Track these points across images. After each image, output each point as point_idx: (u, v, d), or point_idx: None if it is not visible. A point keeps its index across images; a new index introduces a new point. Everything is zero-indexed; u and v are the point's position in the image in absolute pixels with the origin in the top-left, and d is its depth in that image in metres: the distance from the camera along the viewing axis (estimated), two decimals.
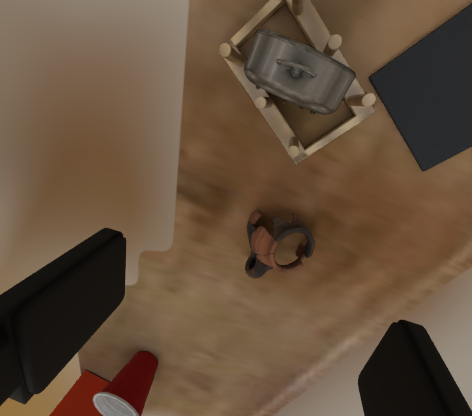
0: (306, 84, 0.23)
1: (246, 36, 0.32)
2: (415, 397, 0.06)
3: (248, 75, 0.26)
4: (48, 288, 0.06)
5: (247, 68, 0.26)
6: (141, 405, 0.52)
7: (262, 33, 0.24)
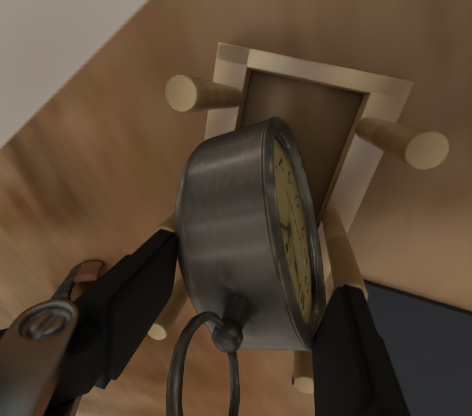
0: None
1: (274, 73, 0.16)
2: (343, 342, 0.07)
3: None
4: (130, 283, 0.07)
5: (189, 167, 0.10)
6: None
7: (261, 160, 0.09)
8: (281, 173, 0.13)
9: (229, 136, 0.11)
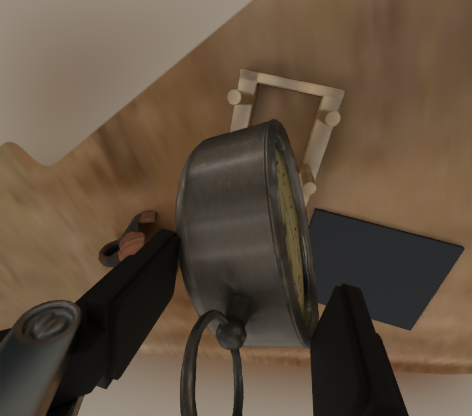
0: None
1: (271, 85, 0.28)
2: (341, 341, 0.07)
3: (180, 181, 0.11)
4: (132, 283, 0.07)
5: (190, 167, 0.10)
6: None
7: (264, 161, 0.09)
8: (277, 174, 0.14)
9: (229, 137, 0.11)
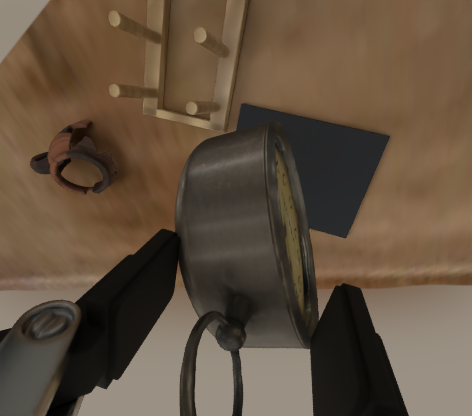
0: None
1: None
2: (341, 341, 0.07)
3: (180, 181, 0.11)
4: (132, 283, 0.07)
5: (190, 167, 0.10)
6: None
7: (264, 162, 0.09)
8: (277, 175, 0.14)
9: (229, 138, 0.11)
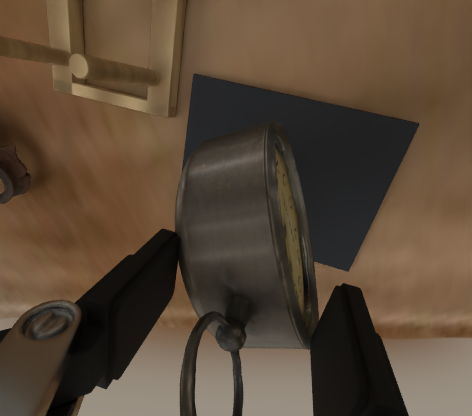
0: None
1: None
2: (341, 341, 0.07)
3: (180, 182, 0.11)
4: (132, 283, 0.07)
5: (190, 167, 0.10)
6: None
7: (264, 162, 0.09)
8: (277, 175, 0.14)
9: (229, 138, 0.11)
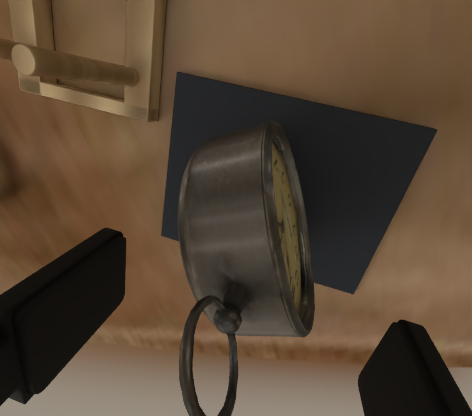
0: None
1: None
2: (415, 397, 0.06)
3: (183, 178, 0.11)
4: (48, 288, 0.06)
5: (192, 165, 0.11)
6: None
7: (261, 160, 0.10)
8: (276, 173, 0.14)
9: (230, 137, 0.12)
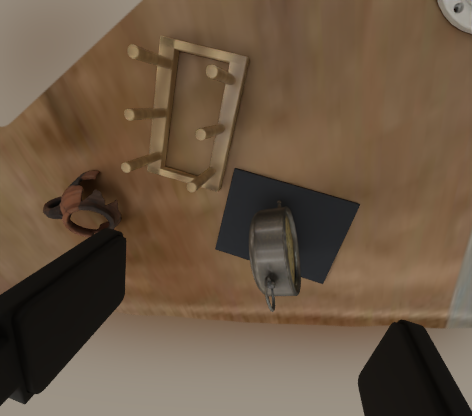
0: None
1: (187, 52, 0.32)
2: (415, 397, 0.06)
3: (251, 233, 0.30)
4: (48, 288, 0.06)
5: (255, 228, 0.29)
6: None
7: (282, 231, 0.28)
8: None
9: (268, 217, 0.30)
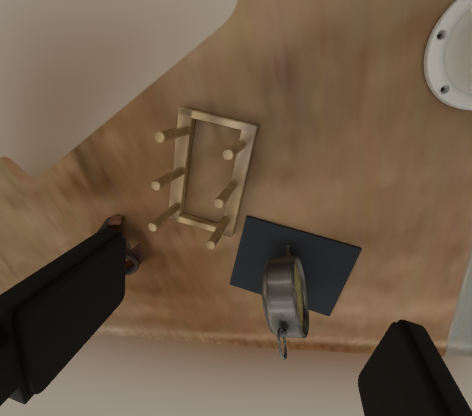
0: None
1: (203, 120, 0.36)
2: (415, 397, 0.06)
3: (263, 284, 0.33)
4: (48, 288, 0.06)
5: (267, 280, 0.33)
6: None
7: (291, 284, 0.32)
8: (293, 273, 0.36)
9: (278, 269, 0.34)
